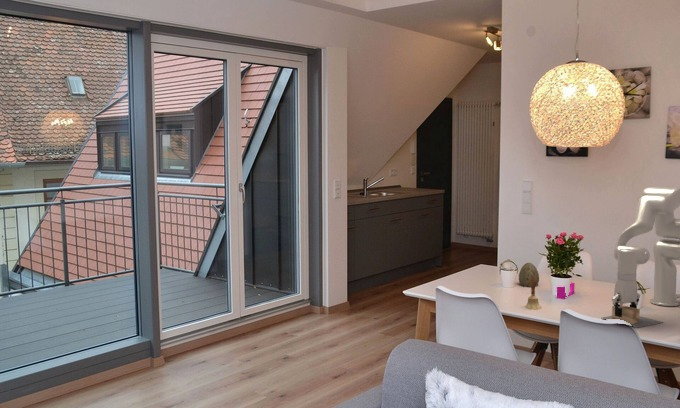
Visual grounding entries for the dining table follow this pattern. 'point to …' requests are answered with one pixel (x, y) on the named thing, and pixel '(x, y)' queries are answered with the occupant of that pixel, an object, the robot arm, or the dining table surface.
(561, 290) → the toy block
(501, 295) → the dining table surface
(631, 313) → the oak block
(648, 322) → the mat
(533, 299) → the hand bell
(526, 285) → the decorative egg
